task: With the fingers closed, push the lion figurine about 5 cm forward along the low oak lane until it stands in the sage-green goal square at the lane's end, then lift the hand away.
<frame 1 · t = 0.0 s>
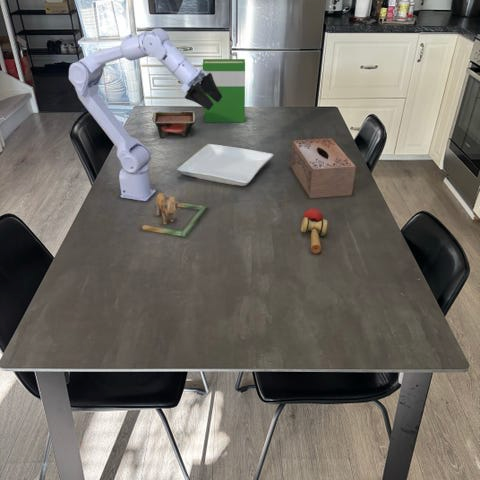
hand: (215, 103, 152), 32 cm above the table, tool tilted 50°, fingers open, 7 cm apart
hardback book: (224, 119, 239), on the table
lion figurine: (167, 218, 166), on the table
square plate: (226, 171, 195), on the table
kendama: (313, 238, 157), on the table
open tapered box: (175, 133, 225), on the table
tissue box cover: (319, 181, 188), on the table
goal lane: (176, 219, 165), on the table
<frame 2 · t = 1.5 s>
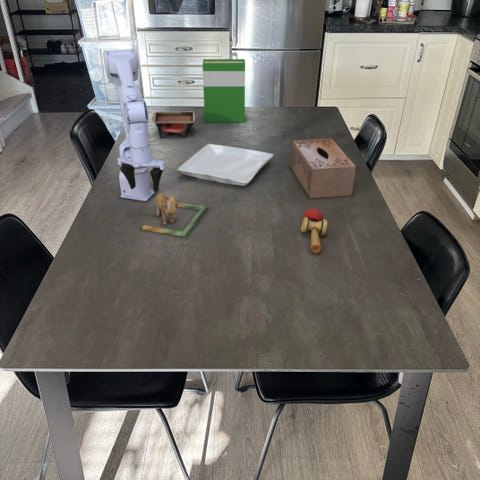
hand: (144, 189, 162), 9 cm above the table, tool pointing down, fingers open, 7 cm apart
nothing on the table moved.
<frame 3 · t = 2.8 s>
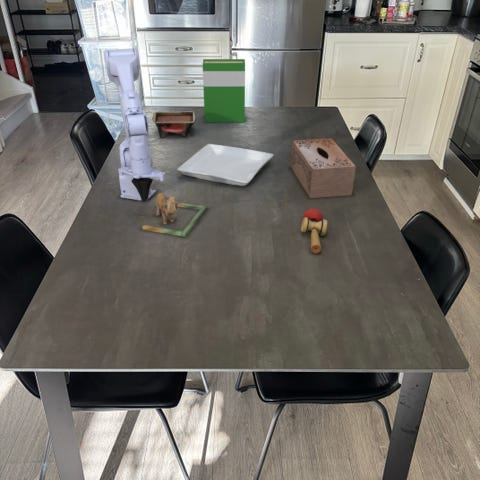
hand: (145, 199, 165), 5 cm above the table, tool pointing down, fingers closed
nothing on the table moved.
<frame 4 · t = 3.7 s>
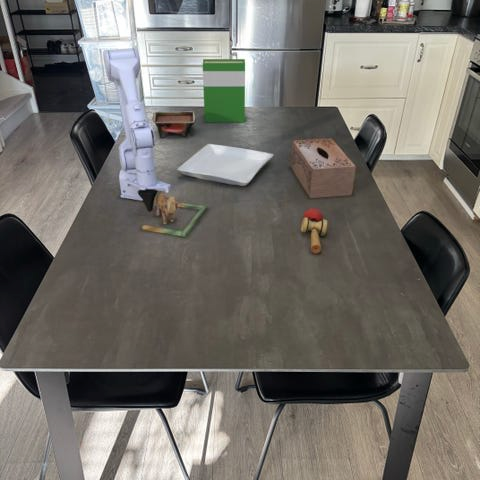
hand: (150, 210, 166), 2 cm above the table, tool pointing down, fingers closed
lion figurine: (167, 218, 166), on the table, touching gripper
everything else where it was.
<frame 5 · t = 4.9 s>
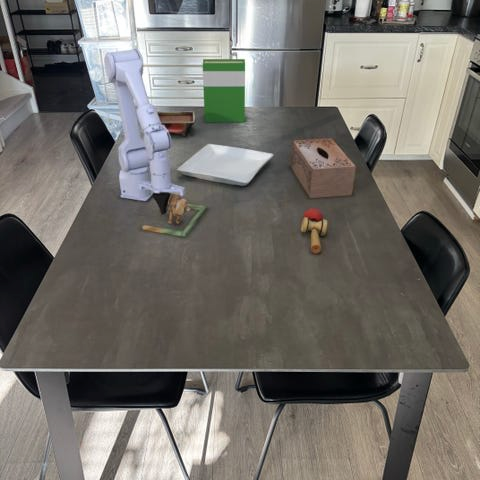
hand: (164, 213, 166), 1 cm above the table, tool pointing down, fingers closed, pressing on lion figurine
lion figurine: (174, 219, 165), on the table, touching gripper
everything else where it was.
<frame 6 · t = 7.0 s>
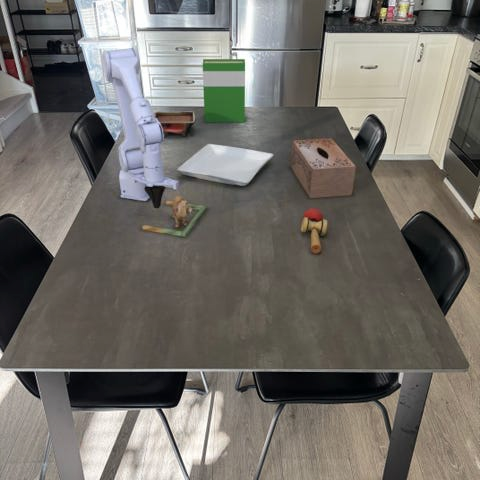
hand: (157, 206, 165), 3 cm above the table, tool pointing down, fingers closed
lion figurine: (182, 221, 165), on the table
everything else where it was.
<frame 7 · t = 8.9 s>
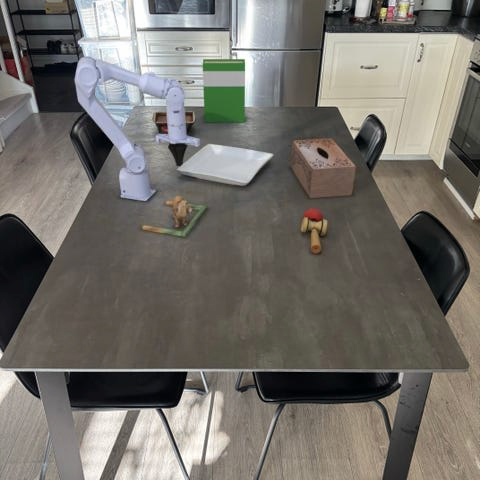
hand: (179, 165, 175), 9 cm above the table, tool pointing down, fingers closed
nothing on the table moved.
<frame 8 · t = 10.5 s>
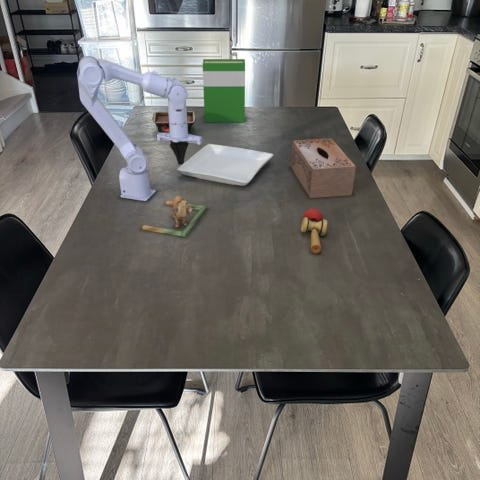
hand: (181, 163, 176), 9 cm above the table, tool pointing down, fingers closed
nothing on the table moved.
at the end: lion figurine 0.7 cm from the target spot, on the table; lion figurine tilted 0° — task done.
